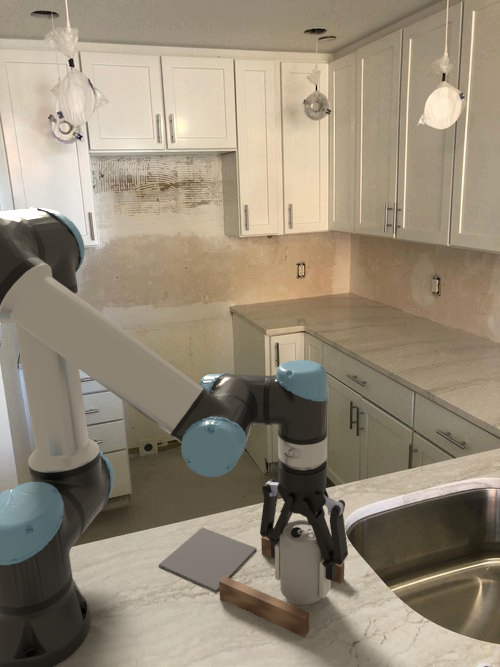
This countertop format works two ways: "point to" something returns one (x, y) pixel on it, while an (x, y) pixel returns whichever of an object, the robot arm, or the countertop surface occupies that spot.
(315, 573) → the can
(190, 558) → the mat
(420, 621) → the countertop surface
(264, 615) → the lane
